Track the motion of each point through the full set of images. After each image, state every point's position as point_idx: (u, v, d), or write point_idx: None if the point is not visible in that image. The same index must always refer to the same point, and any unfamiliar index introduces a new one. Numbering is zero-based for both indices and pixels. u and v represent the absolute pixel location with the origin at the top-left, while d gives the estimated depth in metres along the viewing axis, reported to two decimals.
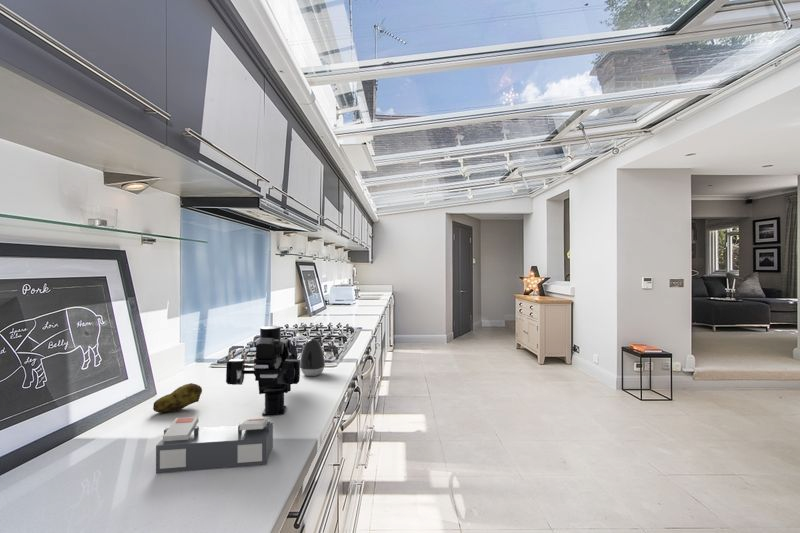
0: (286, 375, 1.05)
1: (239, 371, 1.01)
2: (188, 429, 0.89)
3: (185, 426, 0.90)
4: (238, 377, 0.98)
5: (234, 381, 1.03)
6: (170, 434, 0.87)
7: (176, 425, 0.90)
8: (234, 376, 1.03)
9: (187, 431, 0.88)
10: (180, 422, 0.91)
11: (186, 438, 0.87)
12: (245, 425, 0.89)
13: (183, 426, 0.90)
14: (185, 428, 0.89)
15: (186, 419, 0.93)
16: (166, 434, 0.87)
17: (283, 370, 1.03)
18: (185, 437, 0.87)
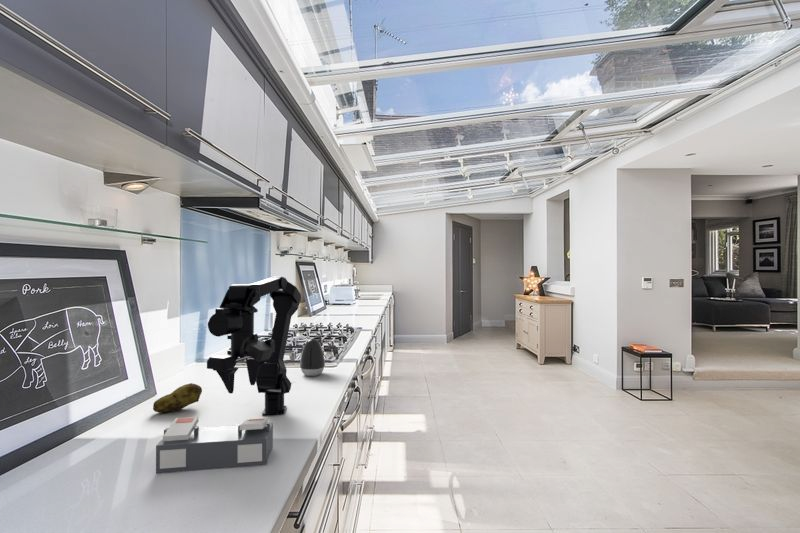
0: None
1: (232, 377, 1.01)
2: (188, 429, 0.89)
3: (185, 426, 0.90)
4: (232, 389, 1.02)
5: None
6: (170, 434, 0.87)
7: (176, 425, 0.90)
8: (221, 370, 1.00)
9: (187, 431, 0.88)
10: (180, 422, 0.91)
11: (186, 438, 0.87)
12: (245, 425, 0.89)
13: (183, 426, 0.90)
14: (185, 428, 0.89)
15: (186, 419, 0.93)
16: (166, 434, 0.87)
17: (259, 368, 1.10)
18: (185, 437, 0.87)
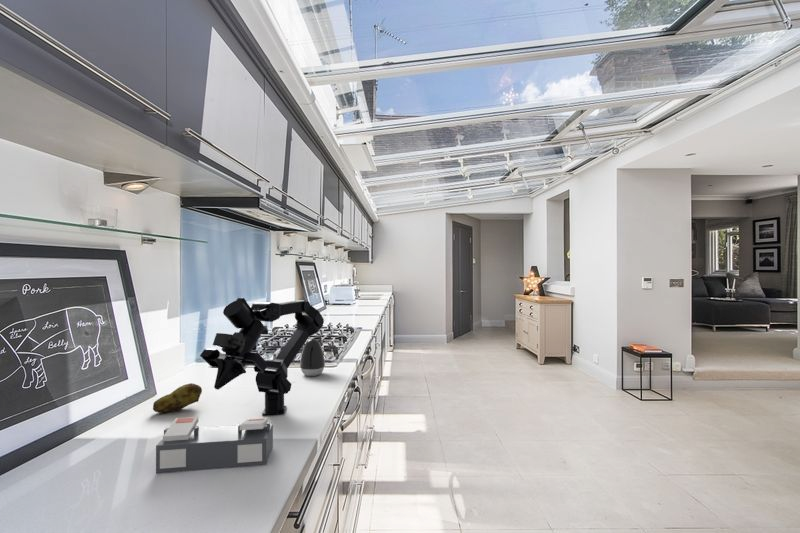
0: (235, 368, 1.05)
1: (219, 371, 1.04)
2: (188, 429, 0.89)
3: (185, 426, 0.90)
4: (215, 383, 1.02)
5: None
6: (170, 434, 0.87)
7: (176, 425, 0.90)
8: None
9: (187, 431, 0.88)
10: (180, 422, 0.91)
11: (186, 438, 0.87)
12: (245, 425, 0.89)
13: (183, 426, 0.90)
14: (185, 428, 0.89)
15: (186, 419, 0.93)
16: (166, 434, 0.87)
17: (226, 370, 1.03)
18: (185, 437, 0.87)
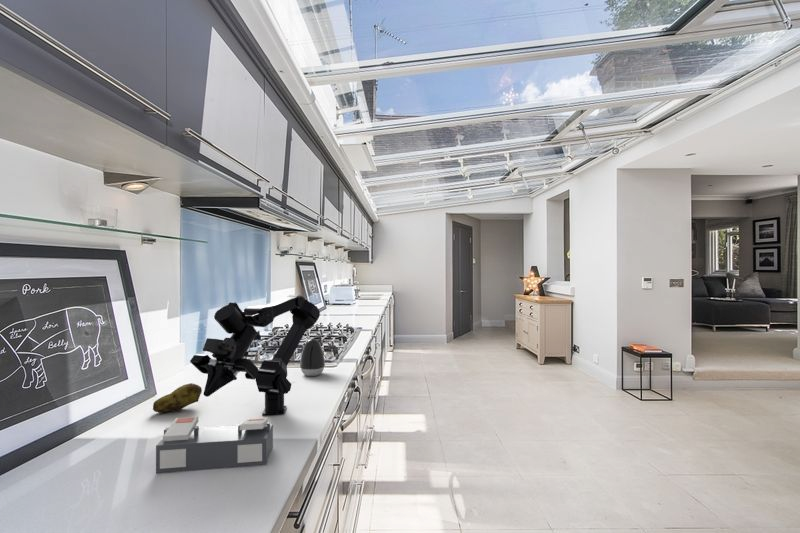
0: (226, 374, 1.02)
1: (209, 377, 1.01)
2: (188, 429, 0.89)
3: (185, 426, 0.90)
4: (205, 390, 0.99)
5: None
6: (170, 434, 0.87)
7: (176, 425, 0.90)
8: None
9: (187, 431, 0.88)
10: (180, 422, 0.91)
11: (186, 438, 0.87)
12: (245, 425, 0.89)
13: (183, 426, 0.90)
14: (185, 428, 0.89)
15: (186, 419, 0.93)
16: (166, 434, 0.87)
17: (216, 376, 1.00)
18: (185, 437, 0.87)
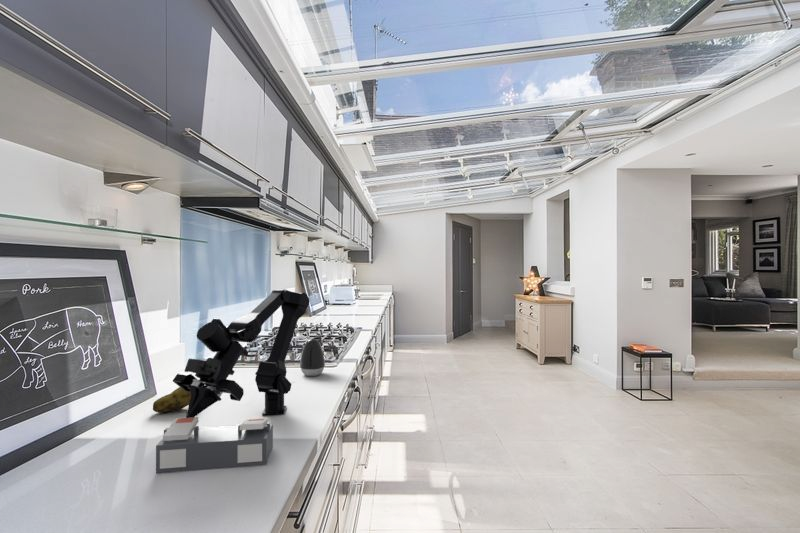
0: (209, 395, 0.98)
1: (192, 399, 0.96)
2: (188, 429, 0.89)
3: (185, 426, 0.90)
4: (187, 413, 0.94)
5: None
6: (170, 434, 0.87)
7: (176, 425, 0.90)
8: None
9: (187, 431, 0.88)
10: (180, 422, 0.91)
11: (186, 438, 0.87)
12: (245, 425, 0.89)
13: (183, 426, 0.90)
14: (185, 428, 0.89)
15: (186, 419, 0.93)
16: (166, 434, 0.87)
17: (199, 398, 0.96)
18: (185, 437, 0.87)
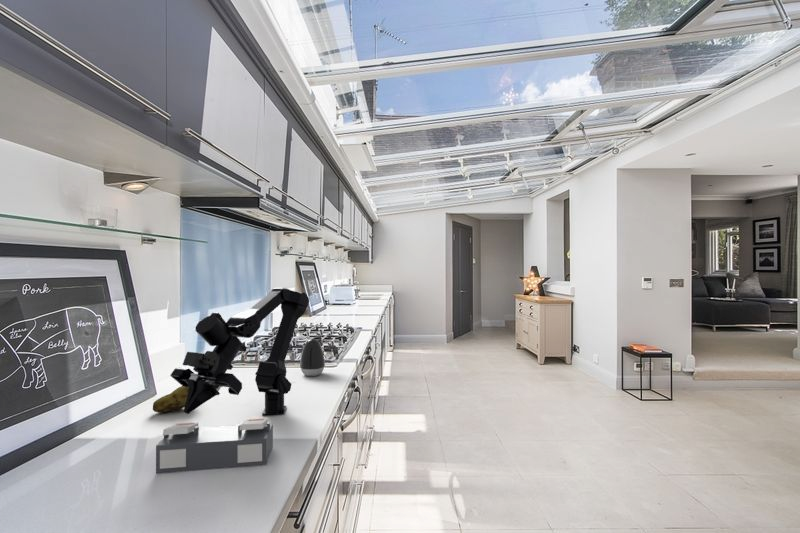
0: (208, 389, 0.97)
1: (190, 393, 0.95)
2: (188, 426, 0.89)
3: (186, 425, 0.90)
4: (185, 407, 0.93)
5: None
6: (170, 428, 0.87)
7: (176, 425, 0.91)
8: None
9: (187, 426, 0.89)
10: (181, 424, 0.92)
11: (186, 432, 0.87)
12: (245, 425, 0.89)
13: (183, 425, 0.90)
14: (186, 426, 0.90)
15: (186, 423, 0.93)
16: (167, 428, 0.87)
17: (197, 392, 0.95)
18: (185, 430, 0.87)
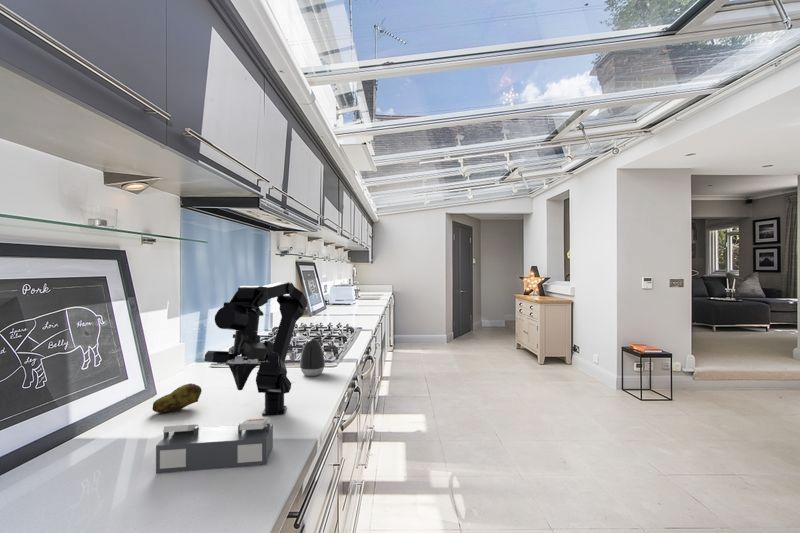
0: None
1: (240, 373, 1.05)
2: (189, 425, 0.89)
3: None
4: (240, 386, 1.05)
5: (230, 365, 1.06)
6: (171, 426, 0.88)
7: None
8: None
9: (188, 425, 0.89)
10: (181, 425, 0.92)
11: (186, 429, 0.87)
12: (245, 425, 0.89)
13: None
14: None
15: None
16: (167, 426, 0.88)
17: (248, 372, 1.06)
18: (185, 428, 0.87)
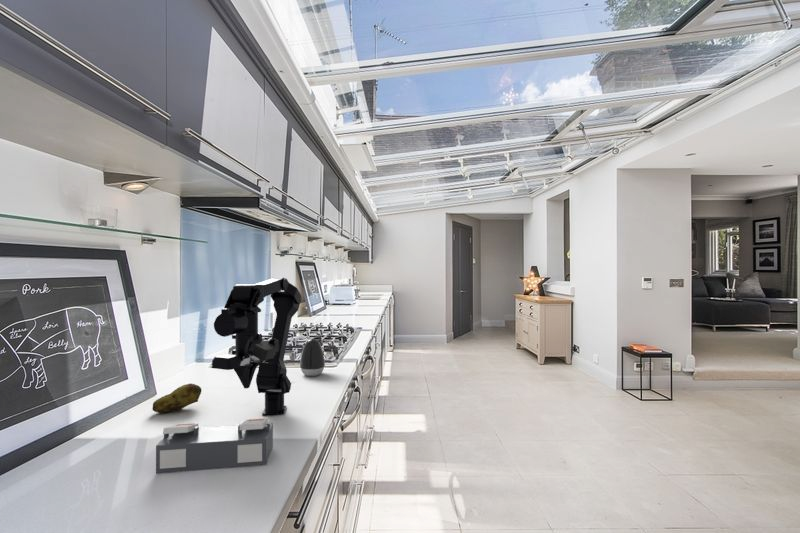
0: None
1: (247, 373, 1.06)
2: (189, 425, 0.89)
3: (186, 425, 0.90)
4: (247, 385, 1.06)
5: None
6: (171, 427, 0.87)
7: (176, 425, 0.91)
8: None
9: (188, 426, 0.89)
10: (181, 425, 0.92)
11: (186, 431, 0.87)
12: (245, 425, 0.89)
13: (183, 425, 0.90)
14: (186, 425, 0.90)
15: (186, 424, 0.93)
16: (167, 427, 0.87)
17: (253, 370, 1.07)
18: (185, 429, 0.87)
